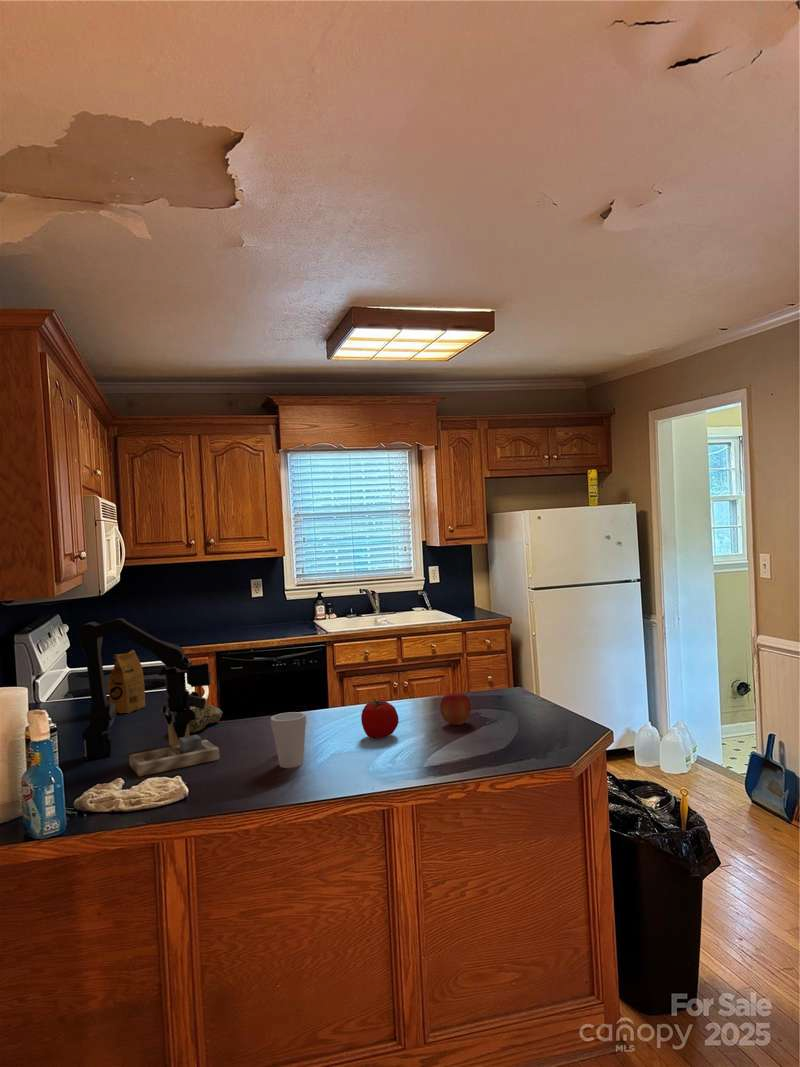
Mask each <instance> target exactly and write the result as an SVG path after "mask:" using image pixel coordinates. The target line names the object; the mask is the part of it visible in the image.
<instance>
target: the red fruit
mask: <svg viewBox="0 0 800 1067" xmlns="http://www.w3.org/2000/svg"><path fill="white" fill-rule="evenodd" d="M360 715H361V718H360V720H361V725H362V729H363V731H364V733H365V735H366V736H367V737H368V738H370V739H383V738H388V737H390V736H391V735H392V734H393V733H394V732H395V731H396V729H397V727H398V725H399V715H398V712H397V709H396V707H395V706H394V705H393V704H391V703H390V702H387V700H386V701H384V700H376V699H375V698H373V702H368V703H366V704H365V706H364V707H363V709H362V711H361V714H360Z"/></svg>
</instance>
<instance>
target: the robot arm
mask: <svg viewBox="0 0 800 1067" xmlns="http://www.w3.org/2000/svg"><path fill="white" fill-rule="evenodd" d="M76 633H77V634H76V636H77V639H78V643H79V645H80V647H81V649H82V651H83V653H84V655H85V661H86V670H87V677H88V685H89V693H90V697H91V698H90V700H91V704H90V708H89V720H88V722H89V724H88V726H87V727H86V728H85V729H84V731H82V733H81V736H82V738H83V743H84V756H85V757H86V758H85V757H84V756H83V757H84V758H85V760H86V759H87V760H88V761H92V760H91V759H94V760H98V759H102V758H109V757H111V756H112V755H111V753H112V748H111V744H112V743H111V738H110V737H109V734H108V733H107V732H108V730H109V728H110V727H111V726H112V725H113V723H114V722H115V717H117V715H118V714H116V713H115V703H114V702H113V703H109V699H108V696H107V690H106V688H107V687H106V682H105V674H104V665H103V659H102V658H103V657H102V647H103V641H104V640H103V639H104V638H103V637H106V636H109V635H113V634H119V635H121V636H123V637H125V638H126V639H128V640H130V641H131V642H133V643H134V644H136V645H139V646H141V648H144V649H146V650H147V651H149V652H151V653H152V654H153V656H155V657H156V658H157V660H159V661H160V662H161V663H162V664H164V665H163V667H162V668H161V670H160V671H159V672H158V673H157V675H158V676H165V678H164V679H165V691H164V696H165V697H166V702H163V703H162V704H161V705H160V707H159V709H160V710H159V711H160V712H159V713H161V714H162V715H163V718H164V720H165V721H166V724H167V725H168V724H172V726H173V728H174V730H175V733H176V735H177V737H178V739H179V738H181V737H185V732H186V728H187V724H188V723H189V722H190V721H192V720H196V713H195V712H194V711H192V710H191V709H192V708H195V707H196V708H200V709H204V706H205V705H206V702H207V699H206V698H205V697H203V696H200V695H199V692H198V691H191V693H190V692H189V691H188V690H187V687H186V686H187V685H189V686H191V687H190V688H195V687H207V686H211V685H212V673H211V670H210V663H209V662H204V663H198V664H193V663H192V662H191V661H190V660H189V659H188V658H187V656H186V654H185V650H184V648H182V647H181V646H179V645H177V644H174V643H170V642H167V641H163V640H161V639H158V638H157V637H155V636H153V635H151V634H149V633H148V632H146V631H144V630H143V629H141V628H139V627H137V626H135V625H134V624H132V623H130V622H129V621H127V620H126V619H125V618H121V617H118V618H116V619H114V620H113V619H112V620H108V621H104V622H100V623H98V622H96V621H91V622H88V623H85V624H83V625H81V626H80V627H79V629H78V630H77V632H76ZM186 684H187V685H186ZM87 760H86V761H87Z"/></svg>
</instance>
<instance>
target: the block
mask: <svg viewBox="0 0 800 1067" xmlns="http://www.w3.org/2000/svg"><path fill="white" fill-rule="evenodd" d="M167 730H168V745H170V747H172V746H177V745H180V743H179V739H178V737H177V735H176V733H175V730H174V728H173V726H172V724H168V723H167ZM190 734H191V733H189V724H187V728H186V732H185V737H186V736H191V735H190Z"/></svg>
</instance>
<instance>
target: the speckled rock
mask: <svg viewBox="0 0 800 1067" xmlns="http://www.w3.org/2000/svg"><path fill="white" fill-rule="evenodd" d="M190 709H191V710H192V711H194V712H195V713H196V720H192V721H190V722H189V723H188V724H189V733H190V734H195V733H197V731H198V732H200V731H201V730H203V729H204V728H205V727H206V726H207V725H209V724H213V723H217V722H218V721H220V719H221V718H222V716H223V714H224V712H223V711H222V710H221V708H219V707H217V706H214V705H211V704H205V706H204V709H200V708H196V707H192V708H190Z"/></svg>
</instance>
